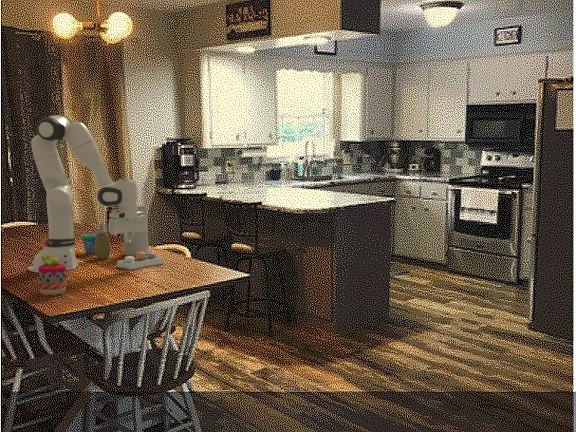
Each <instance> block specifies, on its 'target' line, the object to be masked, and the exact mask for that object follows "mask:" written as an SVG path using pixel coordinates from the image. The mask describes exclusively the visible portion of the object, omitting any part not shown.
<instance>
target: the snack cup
mask: <svg viewBox="0 0 576 432" xmlns="http://www.w3.org/2000/svg"><path fill="white" fill-rule="evenodd" d="M96 235H97V232H96V233H95V232H94V233H85V234H82V235H81V236H80V237H81V239H82V242H83V243H82V244H83V247H84V252H85V254H86V255H95V252H94V248H95V236H96Z"/></svg>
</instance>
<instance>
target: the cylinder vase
mask: <svg viewBox="0 0 576 432" xmlns="http://www.w3.org/2000/svg"><path fill="white" fill-rule="evenodd" d="M138 212H144V213H146V219H147V230H145V231H137V232H134V235H133V237H132V241H131V242H125V238H124V237H123V254H124V255H125V256H126V257H127V256H133V257H136V252H145V256H147V253H149V229H148V227H149V226H148V225H149V224H148V223H149V220H148V219H149V218H148V206H141V205H140V206H139V205H138ZM129 236H130V234H129V233H128V235H127V237H128V238H129Z"/></svg>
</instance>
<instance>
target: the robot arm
mask: <svg viewBox="0 0 576 432" xmlns="http://www.w3.org/2000/svg"><path fill="white" fill-rule="evenodd" d="M36 133H37V135H35V136H33V137H32V139H31V142H30V143H31V145H30V146H31V150H32V151H31V152H32V156H33V159H34V162H35V165H36V168H37V171H38V175H39V177H40V180H41V182H42V184H43V187H44V189H45V191H46V198H45V199H46V209H47V210H46V211H47V221H48V223H47V224H48V238H47V239H41V241H40V242H41V244H43V245H45V246H44V247H43V248H42V249H41V250H40V251H39V252H38V253H37V254H35V255H34V257H33V261H32V262H33V263H32V265H31V266H28V271H30V272H32V273H38V274H39V266H41V265H44V264H45V263H44V262H43V259H42V256H45V258H46V255H49V256H50V261H51V260H52V259H53V258H58V259H59V263H60V264H64V265H65V266H66V270H65V271H69V270H74V269H76V268H77V267H78V266H79V263H78V260H77V257H76V250H75V247H76V246H75V245H76V241H75V237H74V220H73V219H74V218H73V203H72V201H73V197H74V194H73V191H72V188H71V186H70V182H69V180H68V177H67V175H66V172H65V170H64V167H63V162H62V159H61V157H60V155H59V151H58V146H57V143H58V142H60V141H62V140H65V141H66V142H67V143H68V145H69V146H70V149H71V151H72V153H73V154H74V156H75V158H76V159H77V160H78V162H79V163H80V164H82V165H84V166H85V167H87V168H88V169H89V170H90V171H91V172H92V174H93V176H94V177H95V179H96V181H97V183H98V185H99V186H100V189H99V191H98V192H97V200H98V203H100V204H101V205H102V206H105V207H112V206H116V205H117V206H118V209H116V210H113V211H111V212H110V213H109V215H108V217H109V219H108V225H107V226H108V227H107V228H108V229H107V231H108V233H109V234H110V235H119V234H122V236H123V239H124V238H125V242H131V241H132V237H133V235H134V232H137V231H145V230H147V219H146V213H144V212H138V206H139V205H138V194H139V193H138V184H137V183H136V181H134V180H133V179H129V178H119V179H118V180H117V181H113V178H111V175H110V174H109V172H108V170H107V167H106V166H105V164H104V162H103V159H102V155H101V154H100V153H101V152H100V150H99V148H98V146H97V143H96V141H95V139H94V137H93V135H92V134H91V131H89V129H88V127H87V126H86V125H85V124H84V123H83V122H80V121H75V122H74V121H73V122H72V120H71V119H70V118H69V117H68V116H66V115H62V114H58V115H57V114H56V115H50V116H46V117H43V118H41V119H40V120H39V121H38V122H37V125H36ZM128 233H129V234H130V236H129V238H128V237H127V235H128Z"/></svg>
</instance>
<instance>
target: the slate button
mask: <svg viewBox="0 0 576 432" xmlns="http://www.w3.org/2000/svg"><path fill="white" fill-rule="evenodd" d="M146 256H147V258H149V259H152V258H156V256H157V253H156V252H148V253H147V255H146Z"/></svg>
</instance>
